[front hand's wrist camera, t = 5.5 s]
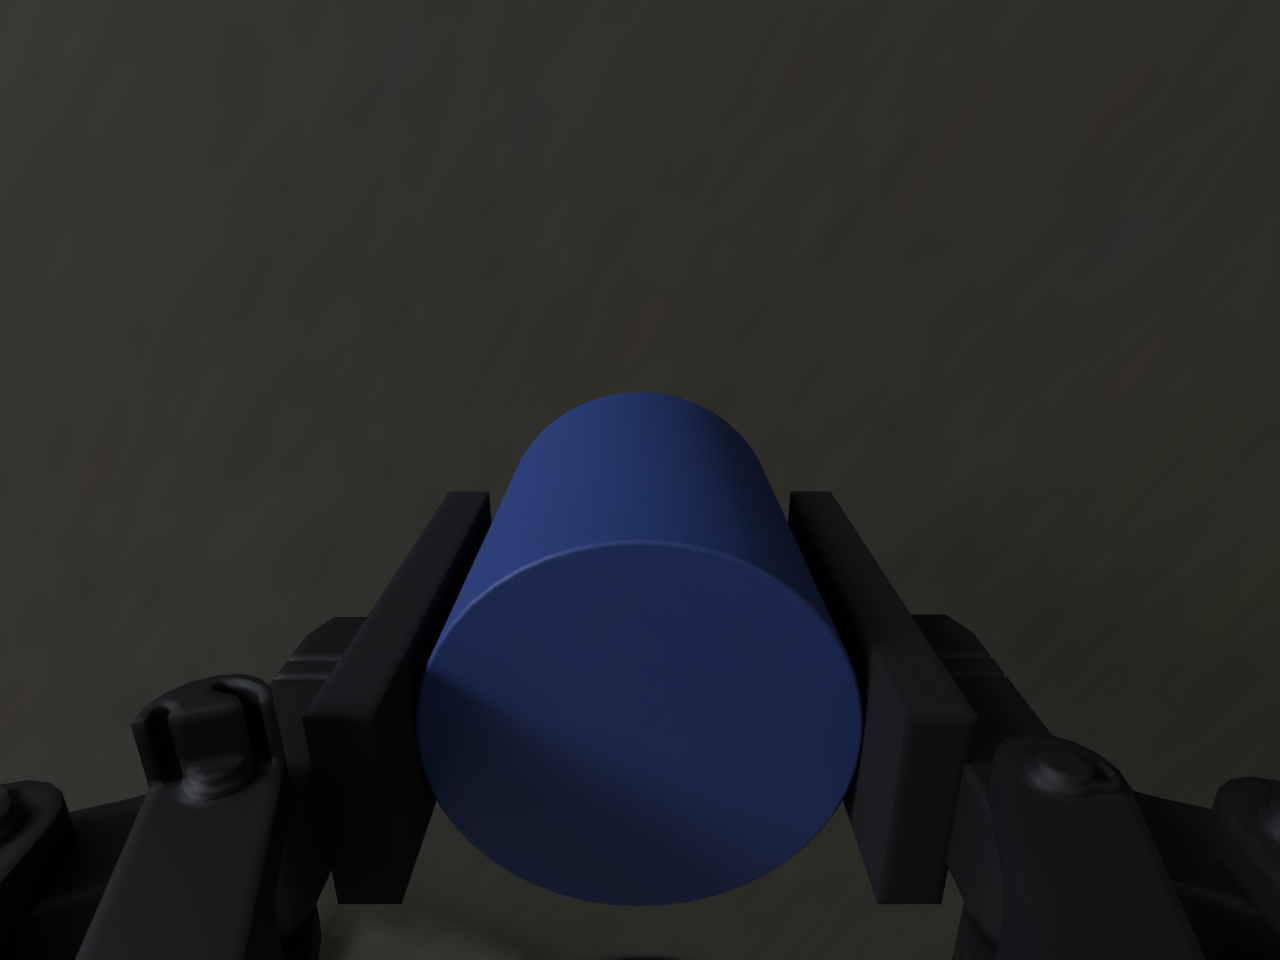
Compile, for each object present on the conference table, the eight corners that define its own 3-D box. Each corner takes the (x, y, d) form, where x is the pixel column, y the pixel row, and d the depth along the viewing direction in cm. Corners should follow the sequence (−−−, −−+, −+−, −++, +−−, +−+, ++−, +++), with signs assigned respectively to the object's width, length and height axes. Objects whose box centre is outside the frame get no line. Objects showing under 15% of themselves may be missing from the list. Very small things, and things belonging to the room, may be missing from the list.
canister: (827, 499, 16) (960, 713, 9) (660, 676, 17) (672, 966, 11) (615, 334, 15) (594, 443, 8) (456, 541, 16) (330, 774, 10)
